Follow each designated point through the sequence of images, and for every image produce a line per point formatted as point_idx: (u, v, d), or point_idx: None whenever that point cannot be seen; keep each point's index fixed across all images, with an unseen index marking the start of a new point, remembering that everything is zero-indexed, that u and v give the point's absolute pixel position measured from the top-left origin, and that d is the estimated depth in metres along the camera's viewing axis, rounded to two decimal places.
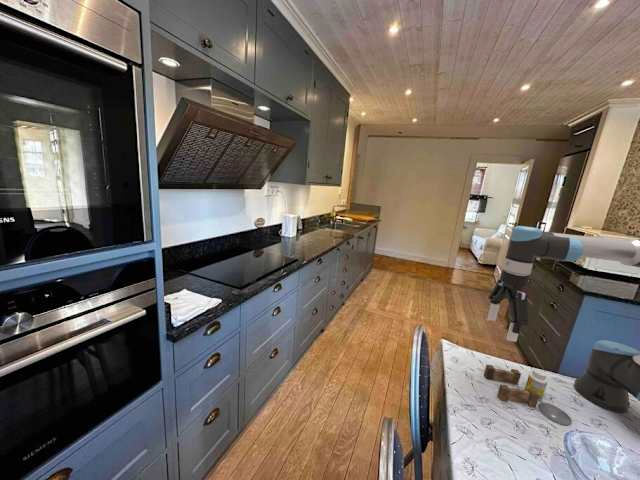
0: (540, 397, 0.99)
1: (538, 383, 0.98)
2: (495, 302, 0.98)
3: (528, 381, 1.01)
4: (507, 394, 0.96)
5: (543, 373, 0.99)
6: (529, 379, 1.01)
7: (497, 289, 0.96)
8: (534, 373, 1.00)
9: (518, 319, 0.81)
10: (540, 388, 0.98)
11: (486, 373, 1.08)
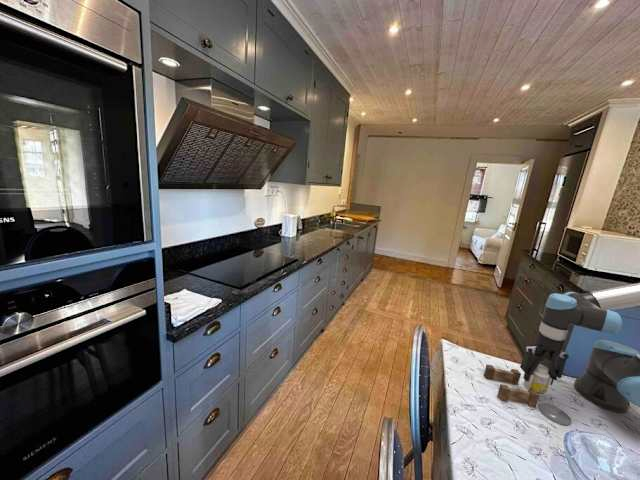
0: (542, 392, 0.98)
1: (540, 377, 0.97)
2: (550, 374, 0.99)
3: None
4: (507, 394, 0.96)
5: (545, 368, 0.99)
6: None
7: (557, 360, 0.98)
8: (536, 368, 0.99)
9: None
10: (542, 383, 0.98)
11: (486, 373, 1.08)
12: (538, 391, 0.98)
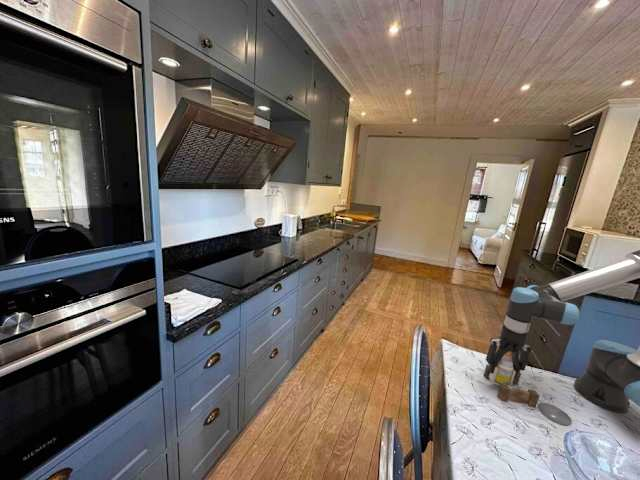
0: (506, 384, 1.00)
1: (504, 369, 0.99)
2: (514, 367, 1.01)
3: None
4: (507, 394, 0.96)
5: (509, 360, 1.00)
6: None
7: (521, 353, 1.00)
8: (500, 360, 1.01)
9: None
10: (505, 375, 0.99)
11: (486, 373, 1.08)
12: (502, 383, 1.00)
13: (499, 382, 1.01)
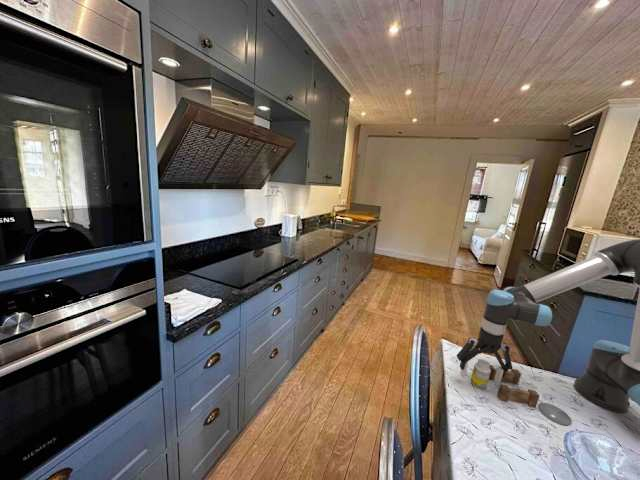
0: (484, 386, 1.02)
1: (481, 372, 1.01)
2: (502, 367, 1.01)
3: (473, 371, 1.04)
4: (507, 394, 0.96)
5: (487, 363, 1.02)
6: (474, 369, 1.03)
7: (503, 353, 1.01)
8: (478, 363, 1.02)
9: None
10: (483, 378, 1.01)
11: None
12: (480, 385, 1.02)
13: (477, 385, 1.02)
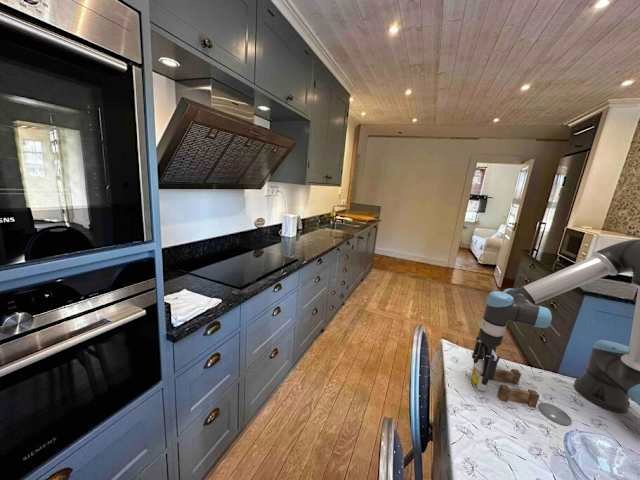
0: None
1: (481, 372, 1.01)
2: None
3: (473, 371, 1.04)
4: (507, 394, 0.96)
5: None
6: (474, 369, 1.03)
7: (477, 347, 1.07)
8: (478, 363, 1.02)
9: (486, 375, 0.97)
10: None
11: None
12: None
13: (477, 384, 1.02)
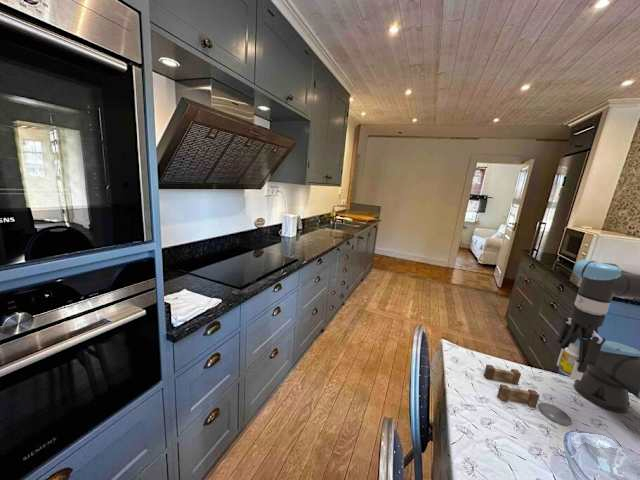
0: None
1: (577, 358, 0.86)
2: None
3: (564, 357, 0.89)
4: (507, 394, 0.96)
5: None
6: (565, 355, 0.89)
7: (566, 329, 0.92)
8: (571, 347, 0.88)
9: (586, 360, 0.82)
10: None
11: (486, 373, 1.08)
12: None
13: (570, 372, 0.87)
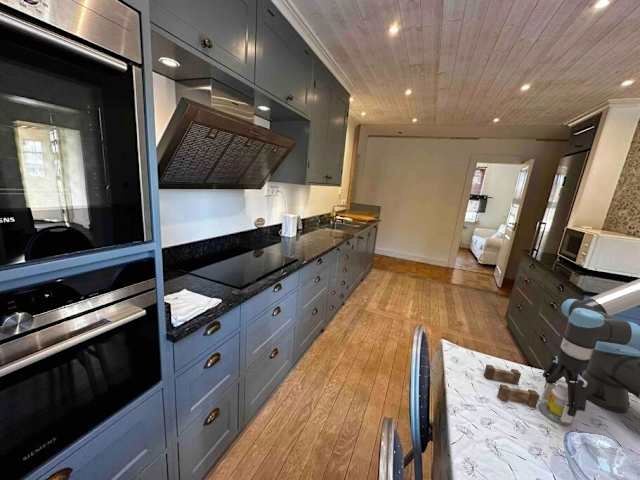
0: None
1: (563, 400, 0.89)
2: (551, 382, 0.96)
3: (551, 398, 0.93)
4: (507, 394, 0.96)
5: None
6: (552, 396, 0.92)
7: (552, 366, 0.96)
8: (558, 390, 0.91)
9: (575, 405, 0.84)
10: (564, 407, 0.89)
11: (486, 373, 1.08)
12: (560, 415, 0.90)
13: (556, 414, 0.91)
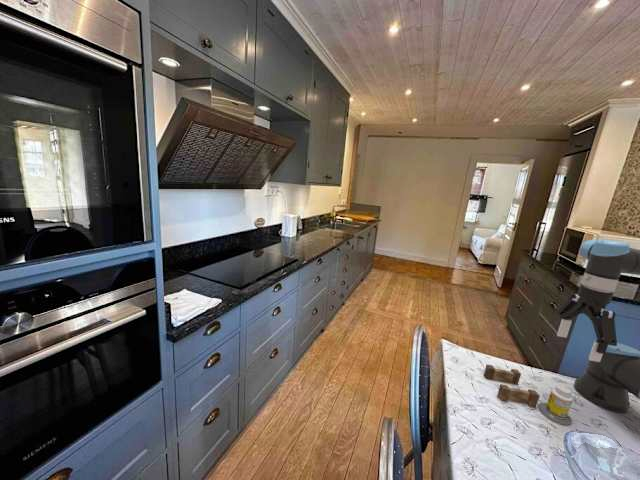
0: (564, 416, 0.90)
1: (563, 400, 0.89)
2: (566, 318, 0.93)
3: (551, 398, 0.93)
4: (507, 394, 0.96)
5: (568, 390, 0.90)
6: (552, 396, 0.92)
7: (570, 304, 0.92)
8: (557, 390, 0.91)
9: (606, 339, 0.77)
10: (564, 407, 0.89)
11: (486, 373, 1.08)
12: (560, 415, 0.90)
13: (556, 414, 0.91)
